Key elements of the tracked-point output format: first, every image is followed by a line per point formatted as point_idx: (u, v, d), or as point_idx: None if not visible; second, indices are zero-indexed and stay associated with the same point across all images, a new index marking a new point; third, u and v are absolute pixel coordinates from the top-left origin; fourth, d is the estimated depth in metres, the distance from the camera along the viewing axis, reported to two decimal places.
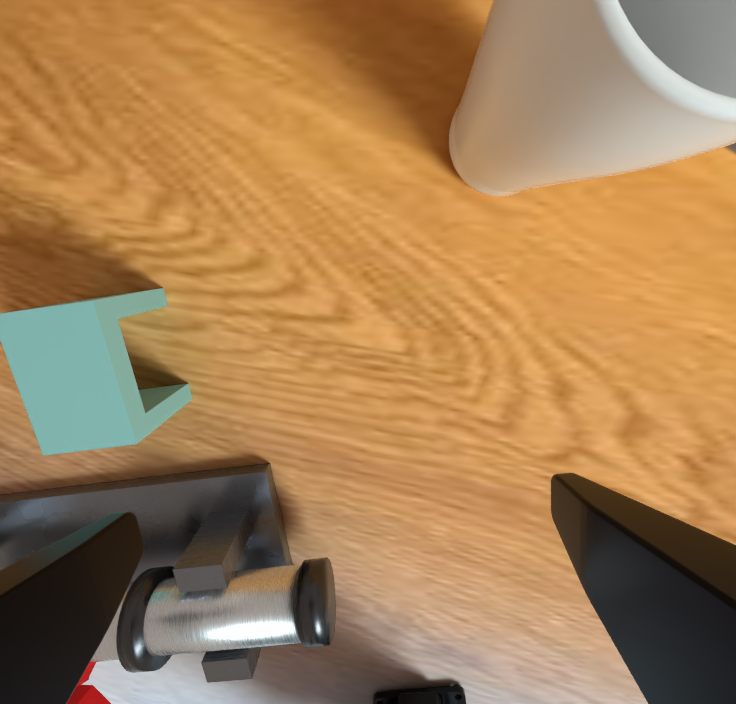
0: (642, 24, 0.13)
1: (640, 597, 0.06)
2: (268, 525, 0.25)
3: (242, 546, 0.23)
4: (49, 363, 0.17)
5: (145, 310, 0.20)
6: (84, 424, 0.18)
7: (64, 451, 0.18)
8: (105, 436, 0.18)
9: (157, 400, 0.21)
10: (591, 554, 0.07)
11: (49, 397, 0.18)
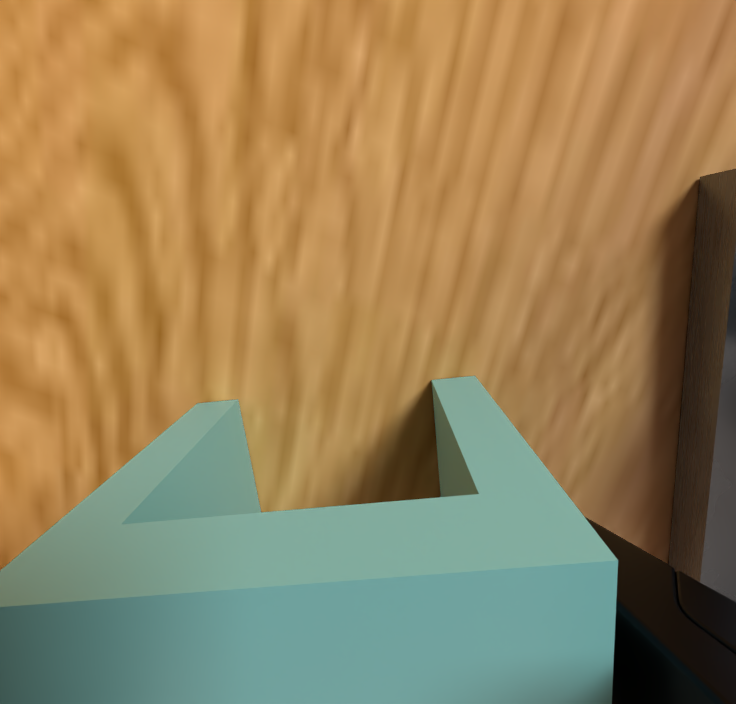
0: None
1: None
2: None
3: None
4: None
5: (194, 442, 0.07)
6: None
7: None
8: (557, 672, 0.04)
9: (453, 452, 0.07)
10: None
11: None
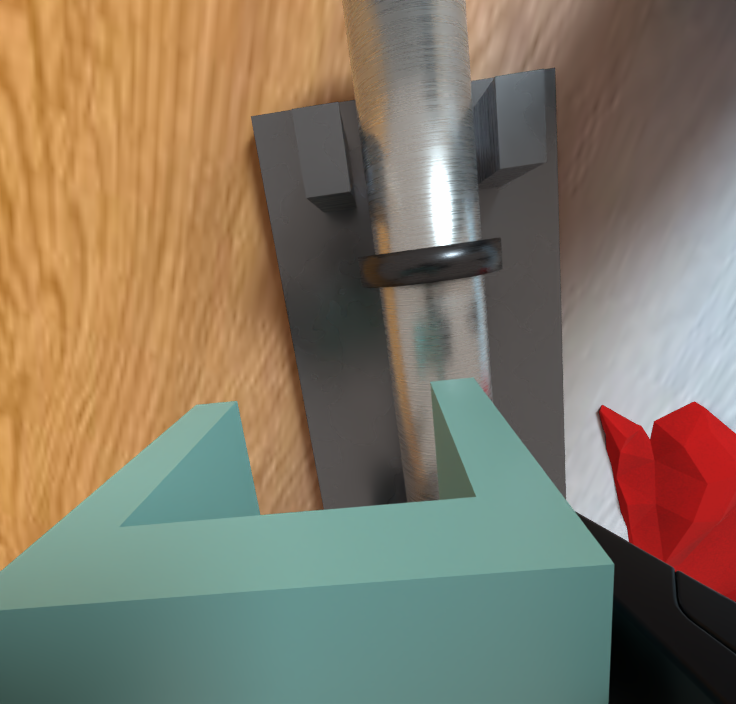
0: None
1: None
2: (341, 117, 0.16)
3: None
4: None
5: (193, 444, 0.07)
6: None
7: None
8: (553, 676, 0.04)
9: (451, 454, 0.07)
10: None
11: None
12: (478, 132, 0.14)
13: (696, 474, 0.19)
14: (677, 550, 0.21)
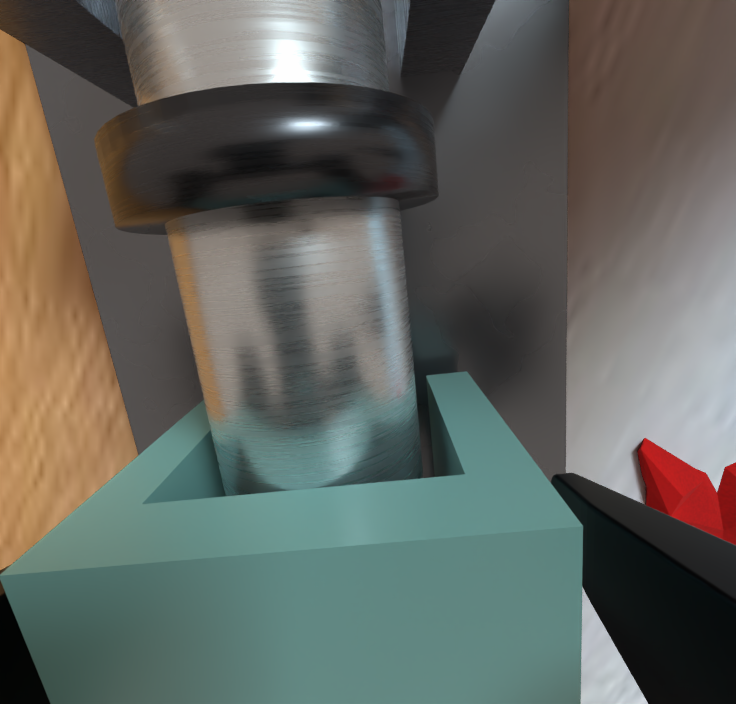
0: None
1: (640, 597, 0.06)
2: None
3: None
4: None
5: (204, 434, 0.08)
6: (475, 683, 0.05)
7: None
8: (532, 628, 0.05)
9: (444, 441, 0.07)
10: (591, 554, 0.07)
11: None
12: None
13: None
14: None
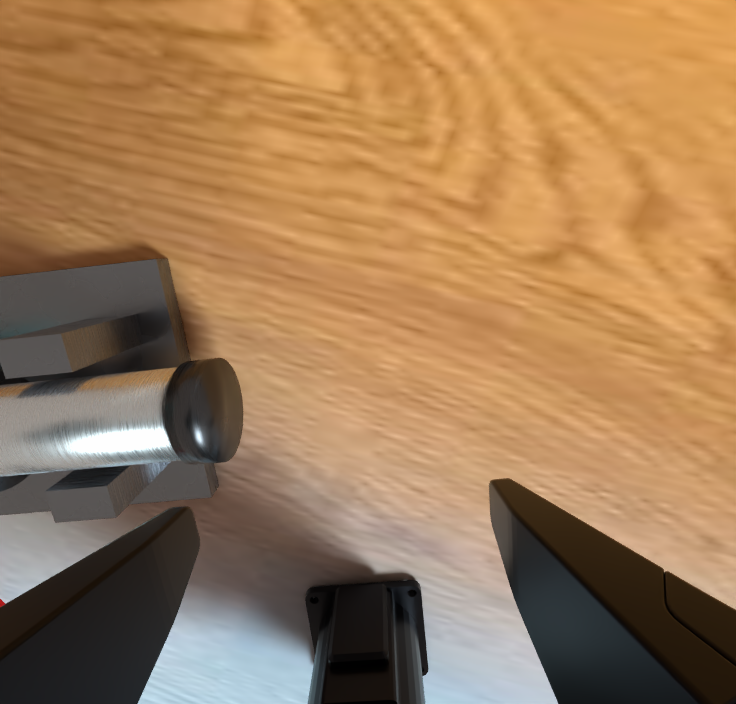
0: None
1: (550, 603, 0.06)
2: (163, 339, 0.19)
3: (115, 346, 0.17)
4: None
5: None
6: None
7: None
8: None
9: None
10: (516, 560, 0.07)
11: None
12: None
13: None
14: None
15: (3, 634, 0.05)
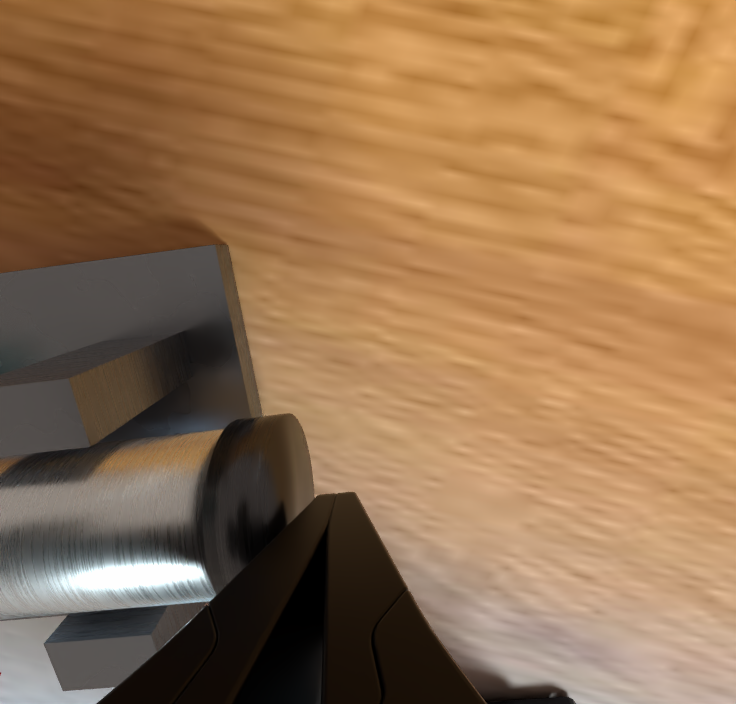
0: None
1: None
2: (223, 369, 0.12)
3: (156, 388, 0.10)
4: None
5: None
6: None
7: None
8: None
9: None
10: None
11: None
12: None
13: None
14: None
15: (251, 616, 0.05)
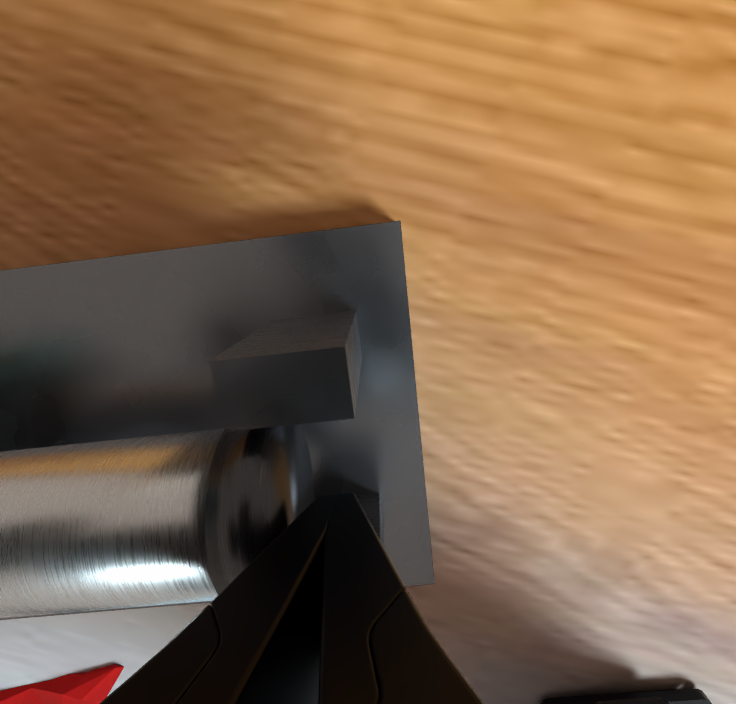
0: None
1: None
2: (394, 350, 0.12)
3: (358, 365, 0.10)
4: None
5: None
6: None
7: None
8: None
9: None
10: None
11: None
12: None
13: None
14: None
15: (254, 616, 0.05)
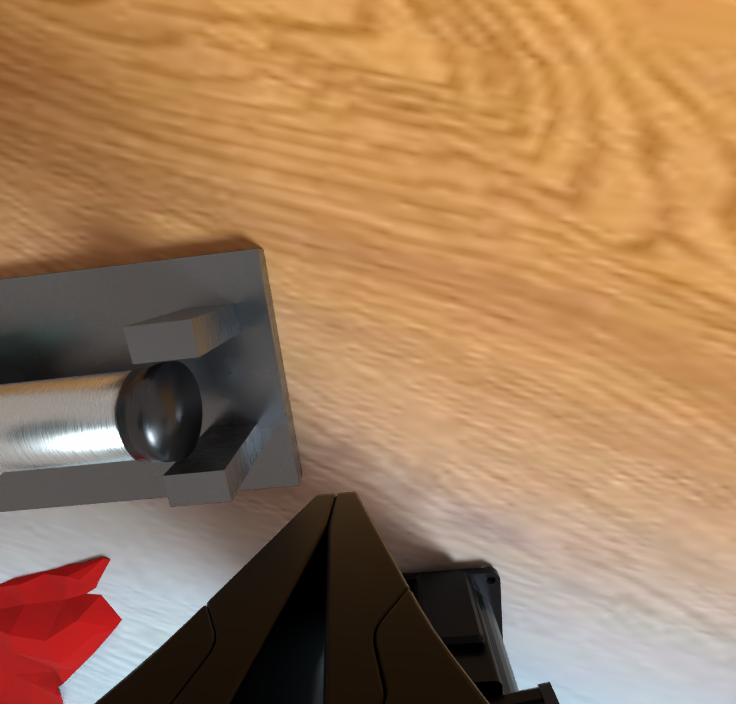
0: None
1: None
2: (259, 328, 0.19)
3: (223, 334, 0.17)
4: None
5: None
6: None
7: None
8: None
9: None
10: None
11: None
12: (222, 446, 0.18)
13: (53, 632, 0.24)
14: None
15: (249, 616, 0.05)
